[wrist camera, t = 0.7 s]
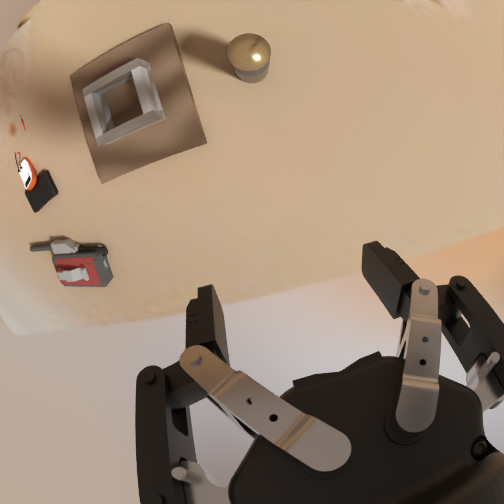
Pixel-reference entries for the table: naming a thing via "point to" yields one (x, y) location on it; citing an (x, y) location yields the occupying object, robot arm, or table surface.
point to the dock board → (137, 104)
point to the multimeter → (36, 184)
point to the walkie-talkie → (79, 263)
